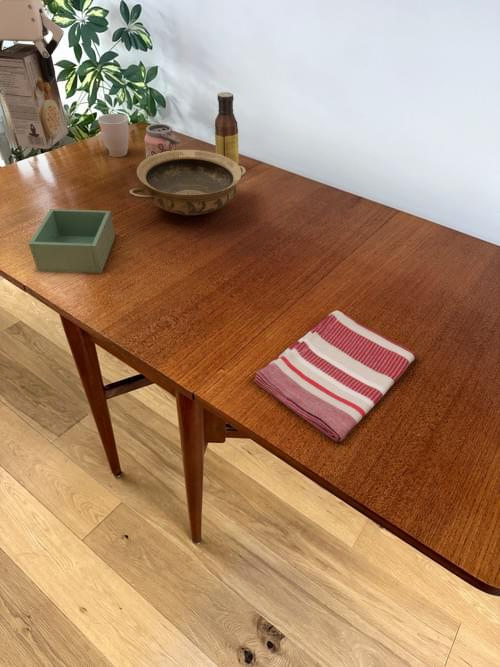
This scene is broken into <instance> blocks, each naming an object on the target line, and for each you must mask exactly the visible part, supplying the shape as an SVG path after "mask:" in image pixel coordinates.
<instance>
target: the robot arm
mask: <svg viewBox="0 0 500 667" xmlns="http://www.w3.org/2000/svg"><path fill="white" fill-rule="evenodd" d="M50 32H51V34H52V35H51V39H50V41H49V42H48V40H47V39H46V38H45V37H46V36H48V35H49V34H50ZM64 35H65V31H64V29H63V28H62V27H60V26H59V25H58V24H56V22H54V21H53V20H52V19H50V18H49V17H48V16H47V15H46V12H45V8H44V4H43V1H42V0H0V51H1V50H3V45H4V42H5V41H6V42H32V44H34V45H35V46H36V47H37V49H38V50H39V52H40V53H41V55H42V58H41V59H40V61H41V65H42V69H43V74H44V78H45V81H46V82H47V83H50V82H51V81H52V80H53V79H54V76H56V70H55V66H54V62H53V61H54V60H53V56H52V55H54V52H55V51H56V49H57V48H58V46H60V42H61V41H62V39H63V37H64Z"/></svg>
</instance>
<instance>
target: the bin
mask: <svg viewBox="0 0 500 667" xmlns="http://www.w3.org/2000/svg"><path fill="white" fill-rule="evenodd" d="M113 222H114V221H113V218H112V212H111V210H99V209H98V210H96V209H95V210H94V209H66V208H65V209H64V208H50V209H49V210H48V212H47V214H46V215H45V216H44V218H43V220H42V221H41V223H40V225H39V226H38V228H37V230H36V231H35V233H33V236H32V238H31V239H30V241H29V242H28V246H29V249H30V252H31V255H32V259H33V262H34V264H35V267H36V271H37V272H57V273H85V274H86V273H91V274H102V272H103V270H104V267H105V265H106V262H107V260H108V257H109V255H110V252H111V249H112V247H113V243H114V241H115V238H116V234H115V228H114V223H113Z"/></svg>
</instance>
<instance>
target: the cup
mask: <svg viewBox="0 0 500 667" xmlns="http://www.w3.org/2000/svg"><path fill="white" fill-rule="evenodd" d="M97 123H98V128H99V133H100V136H101V139H102V142H103V146H104V148H105V149H106V152H107V154H108V156H109V157H113V158H122V157H125V156H127V154H128V149H129V139H130V138H129V136H130V133H129V132H130V130H129V118H128V116H127V115H124V114H121V113H106V114H103V115H102V114H101V115H100V116H98V117H97Z"/></svg>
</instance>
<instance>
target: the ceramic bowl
mask: <svg viewBox="0 0 500 667" xmlns="http://www.w3.org/2000/svg"><path fill="white" fill-rule="evenodd" d="M246 173H247V170H246V168H245V167H244V166H242V165H239V164H236V163H235V162H234V161H232V160H231V159H229V158H227V157H225V156H222V155H219V154H216V152H212V151H207V150H199V149H176V150H174V151H166V152H162V153H158V154H155V155H152V156H150V157H148V158H146V157H145V159H143V161H141V162H140V163H139V165H138V166H137V168H136V175H137V178H138V179H139V181H140V182H141V183H142V186H141V187H134V188H131V189H129V191H128V194H129V196H131V197H132V198H133V199H134V198H135V199H138V200H149V201H150V202H151V203H152V204H154V205H155V206H157V208H160V209H162V210H164V211H166V212H168V213H173V214H178V215H180V216H184V217H196V216H200V215H204V214H209V213H212V212H215V211H218V210H220V209H222V208H223V207H225V206H226V205H228V204H229V203H230V202H231V201H232V200H233V198H234V197H235V194H236V191H237V184H238V183H239V181H240V180H241V179H242V178H243V177H245V175H246ZM138 193H142V194H138ZM143 193H144V194H143Z"/></svg>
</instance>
